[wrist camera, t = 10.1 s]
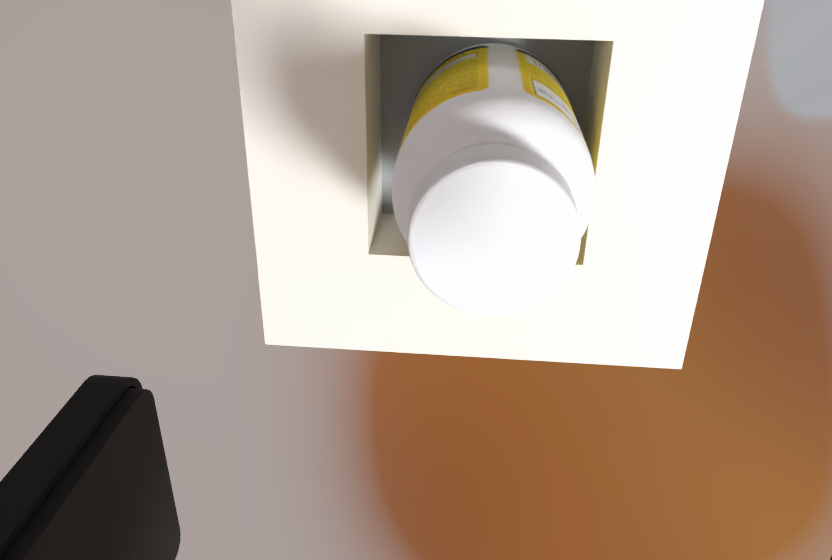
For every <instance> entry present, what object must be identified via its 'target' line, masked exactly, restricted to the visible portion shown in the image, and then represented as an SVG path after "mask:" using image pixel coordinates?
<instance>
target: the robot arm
mask: <svg viewBox="0 0 832 560" xmlns="http://www.w3.org/2000/svg"><path fill="white" fill-rule="evenodd" d="M179 544H180V527H179V522H178V517H177V512H176V507H175V502H174V497H173V492H172V487H171V482H170V477H169V472H168V467H167V461H166V456H165V452H164V447H163V441H162V437H161V431H160V426H159V422H158V416H157V411H156V406H155V401H154V397H153V394H152V392H151V391H150V390H147V389H142V386H141V383H140V382H139V381H138V379H136V378H132V377H118V376H104V375H93V376H90V377H89V378H88V379H87V380H85V381H84V383H83V384H82V385H81V386H80V387H79V389H78V390H77V391H76V392H75V393H74V395H73V396H72V397H71V398H70V399H69V401H68V402H67V403H66V404H65V406H64V407H63V408H62V409H61V410H60V411H59V413H58V414H57V415H56V416H55V417H54V419H53V420H52V421H51V422H50V423H49V424H48V426H47V427H46V428H45V429H44V430H43V432H42V433H41V434H40V436H39V437H38V438H37V439H36V440H35V441H34V443H33V444H32V445H31V446H30V447H29V449H28V450H27V451H26V452H25V453H24V454H23V456H22V457H21V458H20V459H19V461H18V462H17V463H16V464H15V465H14V466H13V468H12V469H11V470H10V471H9V472H8V474H7V475H6V476H5V477H4V478H3V479H2V481H1V482H0V560H175V558H176V556H177V553H178V549H179ZM830 560H832V556H831V559H830Z"/></svg>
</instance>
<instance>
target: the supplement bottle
mask: <svg viewBox="0 0 832 560" xmlns="http://www.w3.org/2000/svg"><path fill="white" fill-rule="evenodd" d="M595 188H596V186H595V174H594V168H593V164H592V160H591V156H590V153H589V150H588V147H587V144H586V142H585V140H584V137H583V135H582V132H581V130H580V127H579V125H578V122H577V120H576V117H575V115H574V112H573V110H572V107H571V104H570V102H569V99H568V97H567V94H566V92H565V90H564V88H563V86H562V84H561V82H560V81H559V79H558V78H557V76H556V75H555V74H554V72H553V71H552V70H551V69H550V68H549V67H548V66H547V65H546V64H545V63H544V62H543V61H542V60H541V59H539V58H538V57H537V56H535V55H533V54H531V53H530V52H528V51H526V50H524V49H521V48H518V47H515V46H512V45H507V44H500V43H486V44H478V45H474V46H470V47H467V48H464V49H462V50H459V51H457V52H455V53H453V54H451V55H450V56H448V57H447V58H445V59H444V60H443V61H441V62H440V63H439V64H438V65H437V66H436V67H435V68H434V69H433V70H432V71H431V72H430V73H429V75H428V76H427V78H426V79H425V80H424V82H423V84H422V85H421V87H420V89H419V91H418V93H417V95H416V98H415V101H414V104H413V107H412V110H411V114H410V118H409V121H408V124H407V127H406V130H405V133H404V136H403V139H402V143H401V146H400V149H399V152H398V155H397V158H396V162H395V167H394V172H393V179H392V202H393V210H394V214H395V218H396V221H397V224H398V226H399V229H400V231H401V233H402V235H403V237H404V239H405V240H406V242H407V244H408V251H409V256H410V259H411V262H412V265H413V267H414V269H415V272H416V273H417V275H418V277H419V279H420V280H421V281H422V282H423V284H424V285H425V286H426V287H427V288H428V289H429V290H430V291H431V292H432V293H433V294H434V295H435V296H436V297H437V298H439V299H440V300H442V301H443V302H445V303H446V304H448V305H450V306H452V307H454V308H456V309H459V310H461V311H464V312H467V313H471V314H476V315H484V316H504V315H511V314H515V313H519V312H523V311H525V310H528V309H530V308H533V307H535V306H537V305H539V304H541V303H542V302H544V301H545V300H547V299H548V298H550V297H551V296H552V295H553V294H555V293H556V292H557V291H558V290H559V289H560V287H561V286H562V285H563V284H564V283H565V281H566V280H567V279H568V277H569V275H570V274H571V272H572V270H573V269H574V266H575V264H576V261H577V259H578V255H579V251H580V244H581V238H582V236H583V234H584V232H585V231H586V228H587V226H588V224H589V221H590V218H591V215H592V211H593V207H594V200H595Z"/></svg>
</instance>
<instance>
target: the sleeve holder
mask: <svg viewBox="0 0 832 560" xmlns="http://www.w3.org/2000/svg"><path fill="white" fill-rule="evenodd" d="M763 4H764V0H231V9H232V18H233V29H234V39H235V49H236V59H237V68H238V79H239V87H240V98H241V108H242V118H243V128H244V138H245V148H246V158H247V168H248V178H249V187H250V198H251V207H252V217H253V228H254V237H255V247H256V257H257V267H258V277H259V287H260V297H261V307H262V317H263V326H264V337H265V344H270V345H286V346H303V347H320V348H337V349H353V350H370V351H386V352H387V351H388V352H403V353H421V354H437V355H453V356H470V357H487V358H503V359H520V360H537V361H554V362H570V363H588V364H604V365H605V364H606V365H621V366H637V367H654V368H655V367H656V368H671V369H681V368H682V364H683V359H684V355H685V351H686V346H687V342H688V337H689V333H690V329H691V324H692V320H693V315H694V311H695V307H696V302H697V297H698V293H699V289H700V284H701V280H702V275H703V271H704V266H705V261H706V258H707V253H708V249H709V244H710V239H711V235H712V231H713V226H714V222H715V218H716V213H717V208H718V204H719V200H720V195H721V191H722V186H723V182H724V177H725V173H726V169H727V164H728V160H729V155H730V150H731V146H732V142H733V137H734V132H735V128H736V124H737V120H738V115H739V111H740V106H741V102H742V97H743V93H744V88H745V84H746V79H747V75H748V70H749V66H750V62H751V57H752V53H753V48H754V44H755V39H756V35H757V31H758V26H759V22H760V17H761V13H762V8H763ZM486 43H500V44H507V45H512V46H515V47H518V48H521V49H524V50H526V51H528V52H530V53H531V54H533V55H535V56H537V57H538V58H539V59H541V60H542V61H543V62H544V63H545V64H546V65H547V66H548V67H549V68H550V69H551V70H552V71H553V72H554V74H555V75H556V76H557V78H558V79H559V81H560V82H561V84H562V86H563V88H564V90H565V92H566V94H567V97H568V99H569V102H570V104H571V107H572V110H573V112H574V115H575V117H576V120H577V122H578V125H579V127H580V130H581V132H582V135H583V137H584V140H585V142H586V144H587V147H588V150H589V153H590V156H591V160H592V164H593V168H594V174H595V186H596V188H595V200H594V207H593V211H592V215H591V218H590V221H589V224H588V226H587V228H586V231H585V232H584V234H583V236H582V238H581V244H580V251H579V255H578V259H577V261H576V264H575V266H574V269H573V270H572V272H571V274H570V275H569V277H568V279H567V280H566V281H565V283H564V284H563V285H562V286H561V287H560V289H559V290H558V291H557V292H556V293H555V294H553V295H552V296H551V297H550V298H548V299H547V300H545V301H544V302H542V303H541V304H539V305H537V306H535V307H533V308H530V309H528V310H525V311H523V312H519V313H515V314H511V315H504V316H484V315H476V314H471V313H467V312H464V311H461V310H459V309H456V308H454V307H452V306H450V305H448V304H446V303H445V302H443V301H442V300H440V299H439V298H437V297H436V296H435V295H434V294H433V293H432V292H431V291H430V290H429V289H428V288H427V287H426V286H425V285H424V284H423V282H422V281H421V280H420V279H419V277H418V275H417V273H416V272H415V269H414V267H413V265H412V262H411V259H410V256H409V251H408V244H407V242H406V240H405V239H404V237H403V235H402V233H401V231H400V229H399V226H398V224H397V221H396V218H395V214H394V210H393V202H392V179H393V172H394V167H395V162H396V158H397V155H398V152H399V149H400V146H401V143H402V139H403V136H404V133H405V130H406V127H407V124H408V121H409V118H410V114H411V110H412V107H413V104H414V101H415V98H416V95H417V93H418V91H419V89H420V87H421V85H422V84H423V82H424V80H425V79H426V78H427V76H428V75H429V73H430V72H431V71H432V70H433V69H434V68H435V67H436V66H437V65H438V64H439V63H440V62H441V61H443V60H444V59H445V58H447V57H448V56H450V55H451V54H453V53H455V52H457V51H459V50H462V49H464V48H467V47H470V46H474V45H478V44H486Z"/></svg>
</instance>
